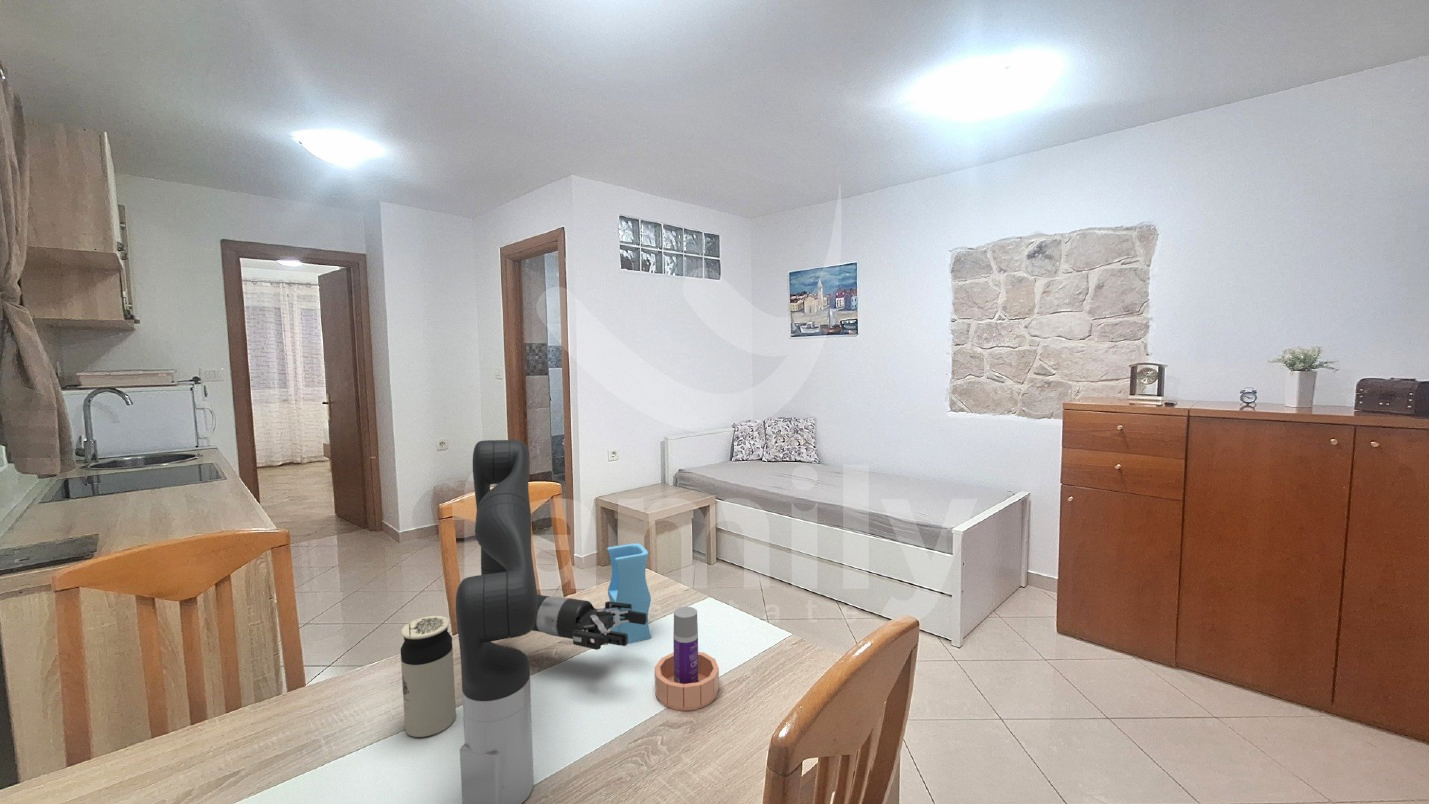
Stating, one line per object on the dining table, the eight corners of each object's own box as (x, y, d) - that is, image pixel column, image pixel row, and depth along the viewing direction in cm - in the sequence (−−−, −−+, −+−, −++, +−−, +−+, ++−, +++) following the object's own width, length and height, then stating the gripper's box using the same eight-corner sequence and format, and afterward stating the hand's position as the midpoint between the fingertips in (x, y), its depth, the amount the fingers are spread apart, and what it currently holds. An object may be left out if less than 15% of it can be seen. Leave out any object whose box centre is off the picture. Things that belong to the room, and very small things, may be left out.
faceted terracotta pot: (706, 716, 98) (706, 692, 98) (645, 703, 102) (645, 680, 101) (725, 678, 110) (725, 656, 109) (669, 668, 113) (669, 646, 113)
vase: (608, 630, 129) (606, 547, 127) (641, 622, 132) (639, 542, 130) (617, 646, 122) (615, 559, 120) (651, 638, 125) (650, 553, 123)
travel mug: (457, 704, 102) (452, 611, 100) (454, 731, 94) (449, 632, 93) (409, 714, 99) (403, 619, 97) (401, 744, 92) (395, 641, 90)
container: (695, 695, 103) (694, 618, 102) (671, 692, 104) (670, 616, 102) (700, 680, 108) (700, 607, 106) (677, 678, 108) (676, 605, 107)
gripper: (544, 615, 106) (619, 628, 101) (583, 585, 119) (651, 595, 114) (545, 652, 106) (620, 667, 101) (584, 618, 120) (652, 629, 115)
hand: (637, 629), depth 108 cm, fingers open, 8 cm apart
